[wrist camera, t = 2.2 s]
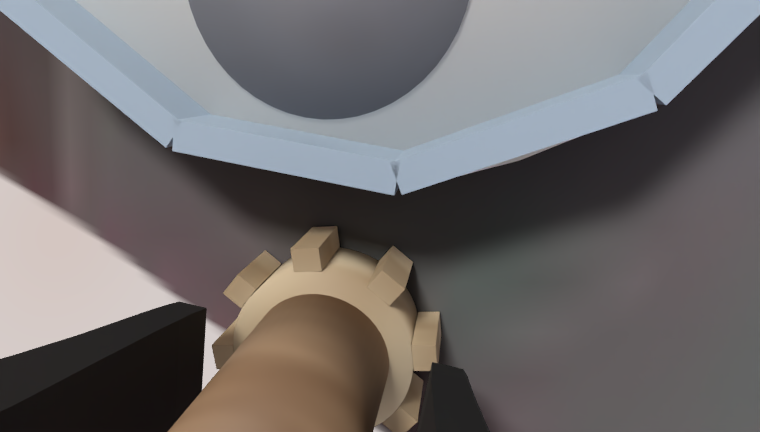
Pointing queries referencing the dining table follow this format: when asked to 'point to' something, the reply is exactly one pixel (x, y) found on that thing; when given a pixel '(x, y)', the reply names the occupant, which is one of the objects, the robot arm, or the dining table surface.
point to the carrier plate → (381, 75)
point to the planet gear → (319, 345)
